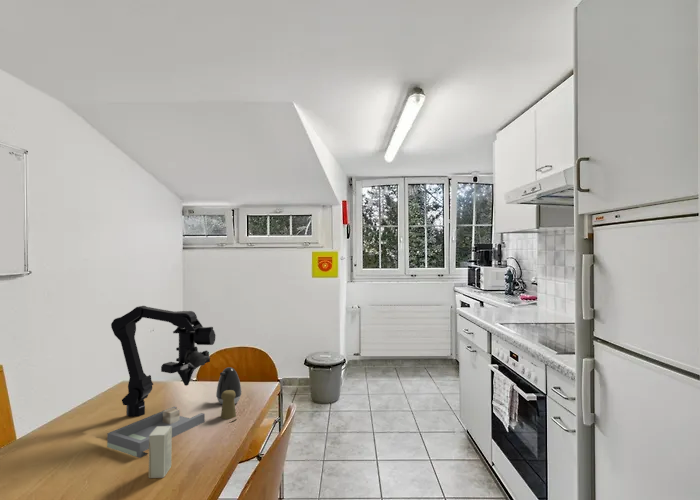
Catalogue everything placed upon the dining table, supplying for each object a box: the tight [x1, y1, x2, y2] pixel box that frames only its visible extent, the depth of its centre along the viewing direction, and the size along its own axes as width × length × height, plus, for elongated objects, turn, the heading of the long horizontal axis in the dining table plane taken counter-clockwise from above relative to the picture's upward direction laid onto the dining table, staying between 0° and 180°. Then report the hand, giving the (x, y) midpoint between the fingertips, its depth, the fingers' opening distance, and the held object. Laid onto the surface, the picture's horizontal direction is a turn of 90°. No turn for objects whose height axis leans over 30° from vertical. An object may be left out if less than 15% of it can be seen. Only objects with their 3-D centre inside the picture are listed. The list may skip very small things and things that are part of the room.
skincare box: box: [148, 426, 173, 479], centre depth 116 cm, size 6×4×12 cm
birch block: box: [162, 407, 181, 424], centre depth 148 cm, size 4×4×4 cm
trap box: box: [106, 406, 206, 459], centre depth 139 cm, size 16×26×4 cm, turn 154°
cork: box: [220, 390, 237, 424], centre depth 153 cm, size 6×6×11 cm
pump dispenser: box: [215, 366, 242, 405], centre depth 170 cm, size 10×10×15 cm
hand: (186, 385), depth 155 cm, fingers closed
